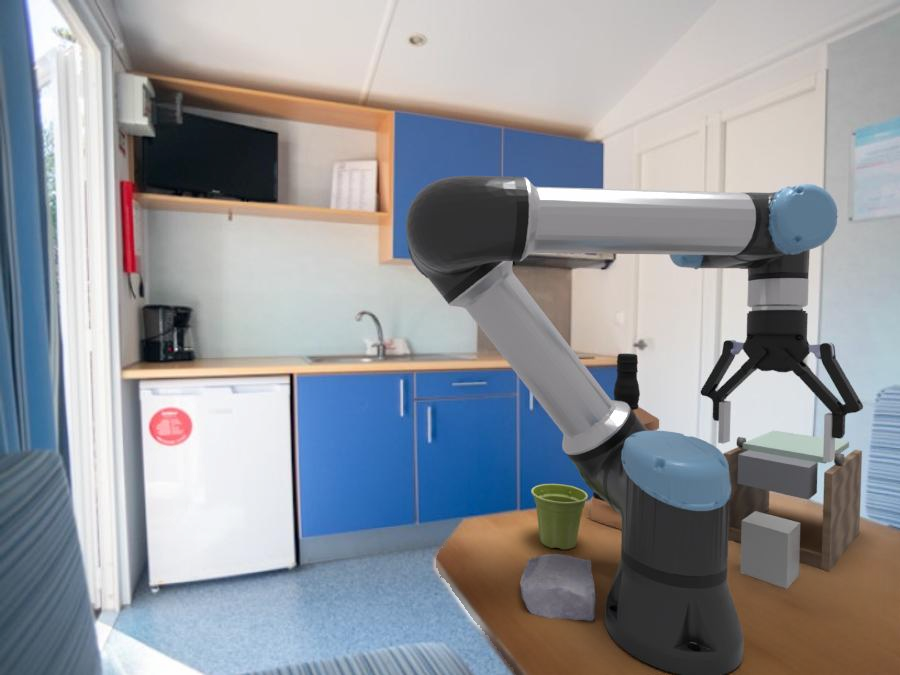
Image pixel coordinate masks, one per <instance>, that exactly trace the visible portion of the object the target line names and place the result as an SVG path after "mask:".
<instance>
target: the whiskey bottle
mask: <svg viewBox="0 0 900 675" xmlns="http://www.w3.org/2000/svg"><path fill="white" fill-rule="evenodd" d="M616 357H617V358H616V359H617V360H616V363H617V365H616V374H617V376H616V380H615V383H614V389H613V399H614V401H622V402H626V403H627V404H628V405H629V407H630V408H631V409H632V410H633V412H634V413H635V414H636V416H637V417H638V418H639V419H640V421H641V422H642V423H643V424H644V426H645V427H646V428H647V430H648V431H653V430H654V431H659V429H660V419H659V418H658V417H656V416H654V415H653V414H651V413H650V412H648V411H647V410H645V409H643V408H642V407H640V405H639V402H640V401H639V400H640V395H641V391H640V385H639V382H638V372H639V371H638V364H639V361H638V360H639V359H638V354H636V353H618V354H617V356H616ZM592 493H593V494H592V497H591V498H590V503H589V517H588V518H590V520H591V521H594V522H597V523H600V524H602V525H606V526H609V527H612V528H615V529H618V530H620V531H622V518H621V516H620V515H619V514H618V513H617V512H616V511H615V510H614V509H613V508H612V507H611V506H610V505H609V504H608V503H607V502H606V501H605V500H603V499H602V498H601V497H600V496H599V495H598V494H596V493H595V492H594V491H593V490H592Z"/></svg>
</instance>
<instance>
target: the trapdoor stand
mask: <svg viewBox="0 0 900 675" xmlns="http://www.w3.org/2000/svg"><path fill="white" fill-rule="evenodd" d="M744 442H747V438H746V437H743V436H738V437H737V438H736V447H735V448H733V449H730V450H728V451H726V452H724V453H723V455H724V456H725V457H726V459H727V462H728V465H729V475H730V483H731V495H730V497H729V498H730V499H729V528H728V541H731V542H735V543H738V544H741V525H742V520H743V519H745V518H746V517H748V516H749V515H750V514H752V513H753V512H755V511H757V512H761V513H765V514H766V512H767V511H769V510H770V491H768V490H763V489H759V488H755V487H750V486H746V485H742V484H738V455H739V454H741V453H743V452H745V451H747V449H743V443H744ZM862 459H863V450H861V449H860V450H859V449H854V450H852V451H851V452H849V453H848V454H847V455H845V454H844V453H835V459H834V460H833V463H834V465H832V466H831V467H830V468H828V469H827V470H826V471H824V473H823V499H822V500H823V503H822V504H823V506H822V536H821V539H822V540H821V552H819V551H815V550H811V549H808V548H804V547H801V546H800V554H799V563H802V564H806V565H807V566H808V565H809V566H812V567H815V568H818V569H822V570H825V571H828V572H831V570H832V569H833V567H834V566H835V565H836V563H837V562H838V561H839V559H840V558H842V557H841V556H842V555H843V554H844V553H845V551H847V549H848V548H849V546H850V545H851V544H852V543H853V541H854V540H855V539H856V538H857V536H858V535H859V533H860V528H861V527H860V524H861V522H860V521H861V497H862V496H861V494H862V492H861V490H862V488H861V487H862V464H863V461H862Z"/></svg>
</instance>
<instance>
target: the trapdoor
mask: <svg viewBox="0 0 900 675" xmlns="http://www.w3.org/2000/svg"><path fill="white" fill-rule="evenodd" d="M823 448H824V437H821V436H814V435H812V436H811V435H807V434H799V433H793V432H786V431H785V432H784V431H779V430H771V431H769V432H766V433H763V434H762V435H760V436H756V437H755V438H752V439H749V440H746V442H744V443H743V449H747V451H745V452H743V453H741V454H739V455H738V484H742V485H746V486H750V487H755V488H759V489H763V490H768V491H769V492H773V493H777V494H780V495H786V496H790V497H795V498H799V499H803V500H810V499H811V498H813V496H815V495H816V494H817V493H818V468H819V467H818V466H819V463H820V464H824V465H825V464H827V463H828V462H824V461H823ZM848 448H850V441H846V440H842V439H835V453H840V454H842V453H843V452H844V451H846V450H847V449H848Z"/></svg>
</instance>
